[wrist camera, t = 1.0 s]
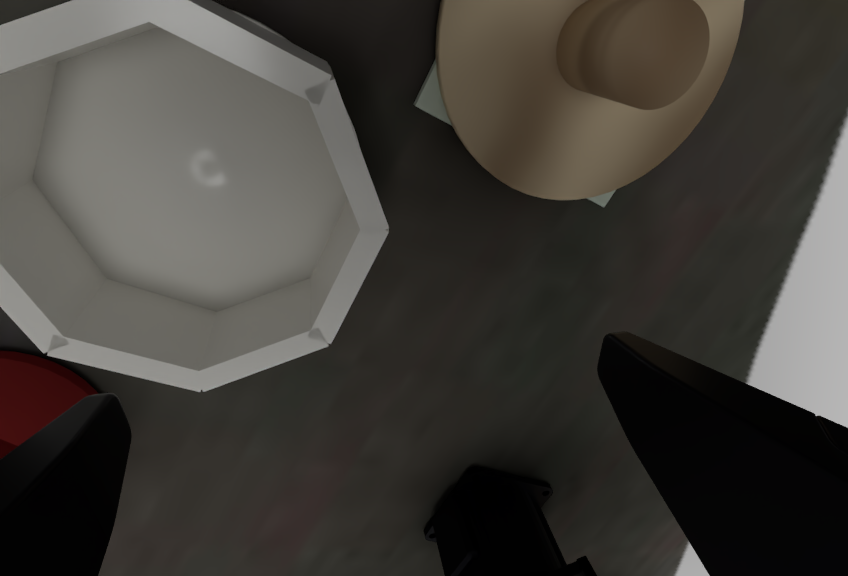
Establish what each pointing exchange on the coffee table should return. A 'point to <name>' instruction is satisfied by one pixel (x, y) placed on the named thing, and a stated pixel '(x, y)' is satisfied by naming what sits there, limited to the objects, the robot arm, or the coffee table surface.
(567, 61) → the lid
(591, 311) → the coffee table surface
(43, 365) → the canned food
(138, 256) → the bowl
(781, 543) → the robot arm
